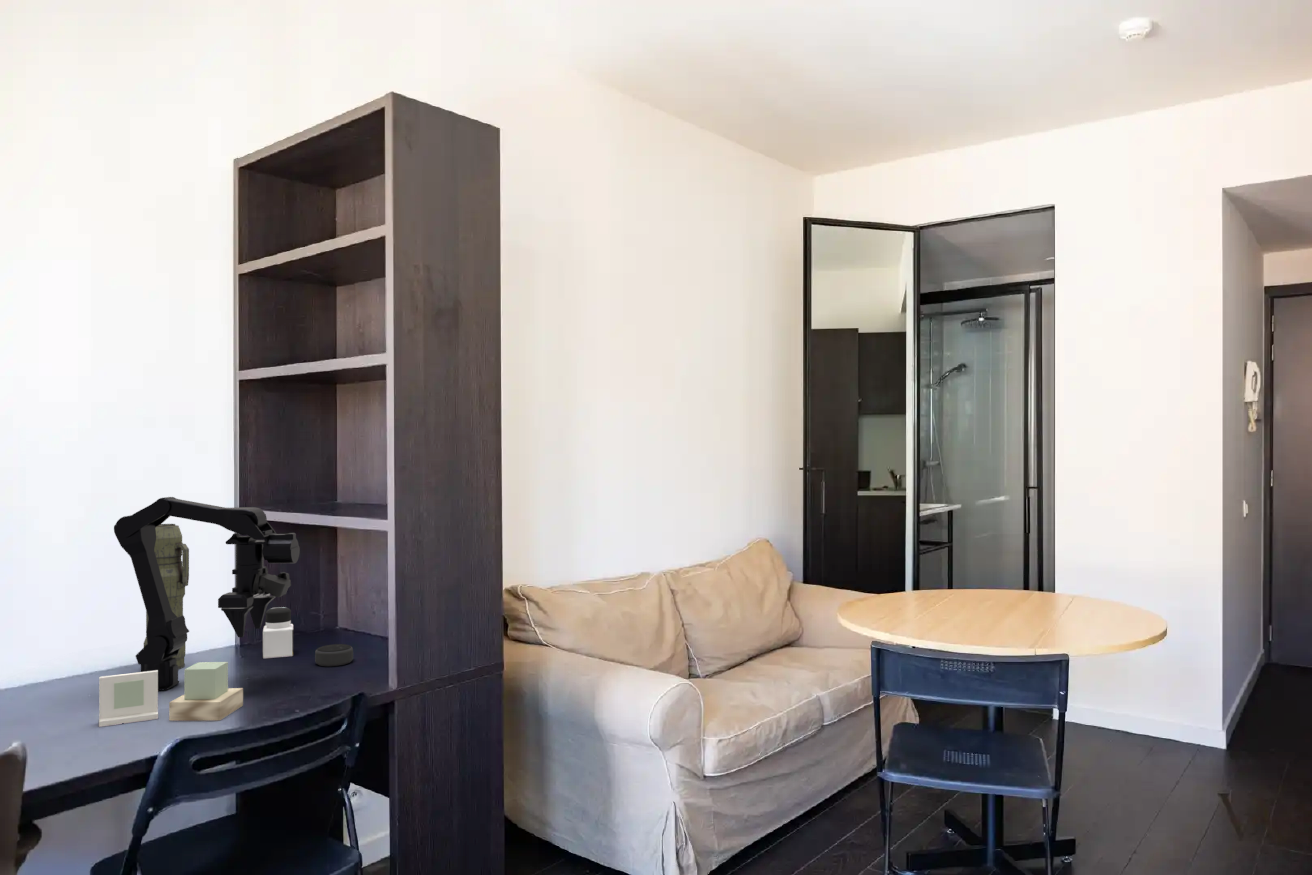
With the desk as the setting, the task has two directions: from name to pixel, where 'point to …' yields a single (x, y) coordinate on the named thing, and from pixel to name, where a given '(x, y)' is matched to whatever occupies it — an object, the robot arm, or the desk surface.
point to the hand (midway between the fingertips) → (249, 632)
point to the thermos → (172, 571)
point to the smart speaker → (334, 655)
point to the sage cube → (205, 680)
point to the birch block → (206, 707)
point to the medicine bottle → (278, 633)
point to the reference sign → (128, 698)
